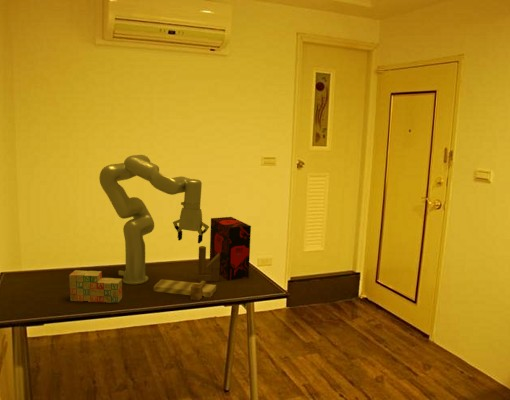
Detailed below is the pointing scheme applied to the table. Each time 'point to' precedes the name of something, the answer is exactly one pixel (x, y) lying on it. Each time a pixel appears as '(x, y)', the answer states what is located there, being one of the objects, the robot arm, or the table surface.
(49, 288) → the table surface
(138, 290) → the table surface
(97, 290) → the stack of blocks
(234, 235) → the box
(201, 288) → the gauge
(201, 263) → the brown angled bracket
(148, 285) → the table surface
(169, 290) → the board
